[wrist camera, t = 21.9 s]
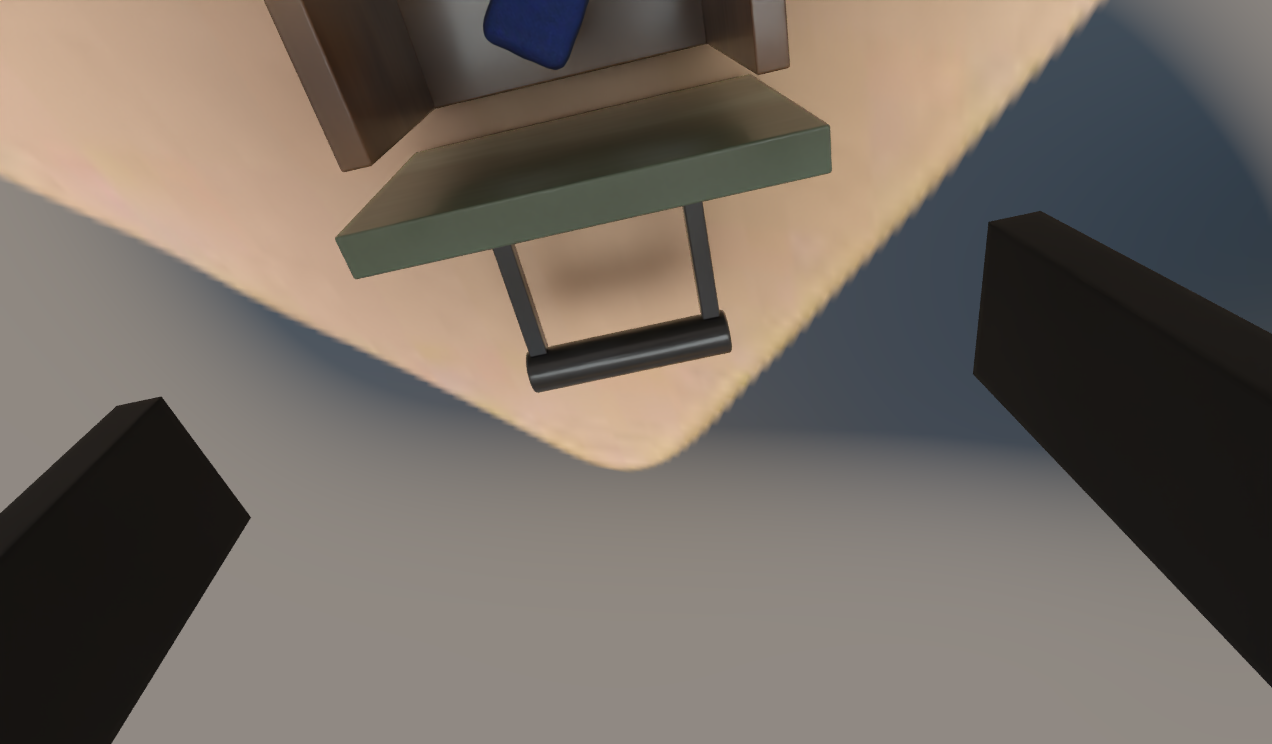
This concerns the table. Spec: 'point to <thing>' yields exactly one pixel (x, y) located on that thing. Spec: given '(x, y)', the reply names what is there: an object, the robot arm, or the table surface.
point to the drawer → (551, 146)
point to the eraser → (535, 28)
